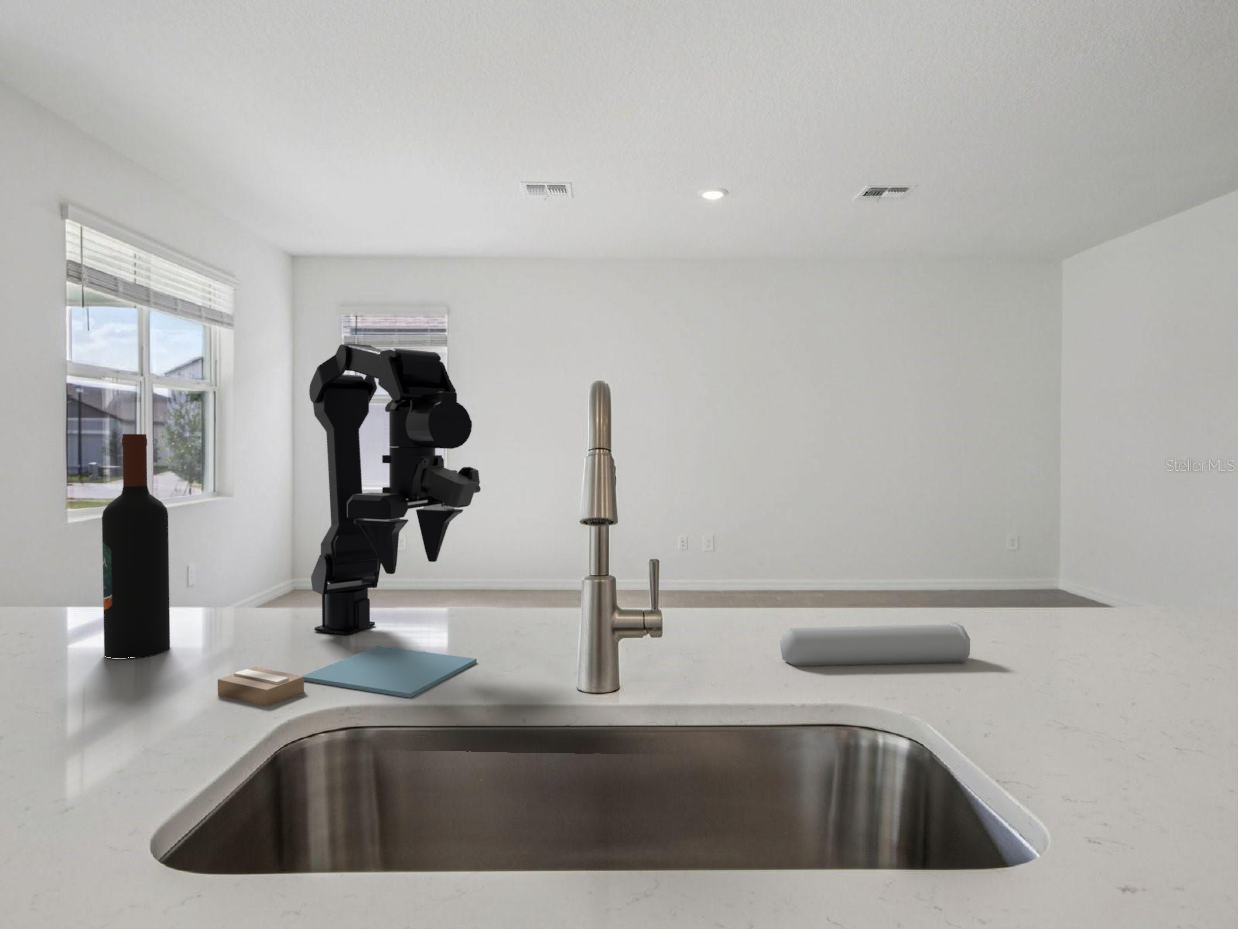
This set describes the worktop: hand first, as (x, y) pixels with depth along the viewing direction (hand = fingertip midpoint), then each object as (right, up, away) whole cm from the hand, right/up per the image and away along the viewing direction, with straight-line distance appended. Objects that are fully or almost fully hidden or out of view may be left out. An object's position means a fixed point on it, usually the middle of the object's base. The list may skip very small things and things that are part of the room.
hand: (412, 567), depth 92 cm
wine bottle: (-40, -13, +6) cm, 42 cm away
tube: (+61, -14, +4) cm, 62 cm away
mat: (-2, -13, -2) cm, 13 cm away
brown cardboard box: (-15, -14, -10) cm, 22 cm away
